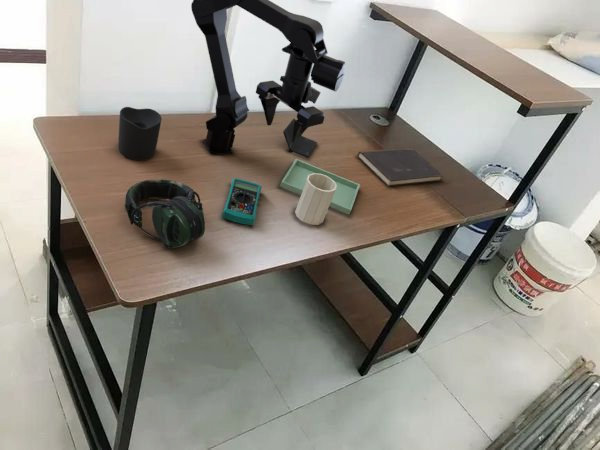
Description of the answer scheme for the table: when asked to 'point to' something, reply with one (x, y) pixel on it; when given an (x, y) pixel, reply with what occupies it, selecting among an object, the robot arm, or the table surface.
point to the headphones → (167, 210)
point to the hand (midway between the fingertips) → (281, 133)
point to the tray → (344, 188)
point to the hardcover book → (399, 167)
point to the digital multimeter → (242, 202)
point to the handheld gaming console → (298, 142)
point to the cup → (315, 198)
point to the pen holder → (138, 132)
